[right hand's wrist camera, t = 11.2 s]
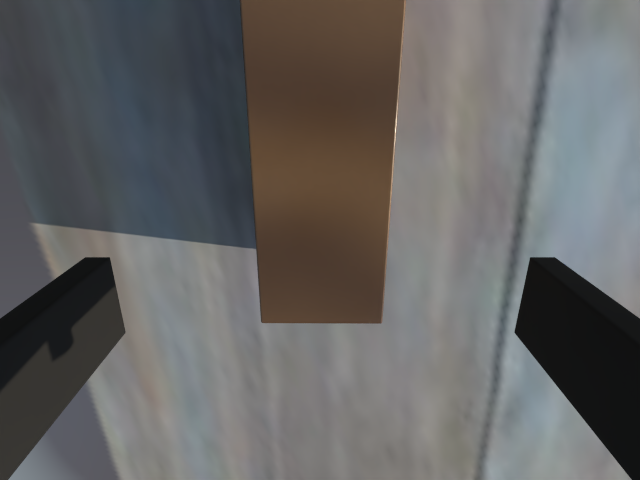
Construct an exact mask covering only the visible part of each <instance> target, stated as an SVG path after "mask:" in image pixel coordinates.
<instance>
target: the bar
mask: <svg viewBox="0 0 640 480" xmlns="http://www.w3.org/2000/svg"><path fill="white" fill-rule="evenodd" d="M405 5H406V0H240V10H241V25H242V40H243V55H244V70H245V86H246V101H247V116H248V131H249V146H250V161H251V176H252V191H253V206H254V221H255V236H256V251H257V266H258V281H259V296H260V311H261V322H262V323H382V317H383V304H384V290H385V277H386V263H387V249H388V236H389V222H390V209H391V195H392V181H393V168H394V154H395V141H396V127H397V113H398V100H399V86H400V73H401V59H402V46H403V32H404V18H405Z"/></svg>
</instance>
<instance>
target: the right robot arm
mask: <svg viewBox="0 0 640 480" xmlns="http://www.w3.org/2000/svg"><path fill="white" fill-rule="evenodd" d="M124 334H125V328H124V323H123V318H122V313H121V309H120V304H119V299H118V294H117V290H116V285H115V280H114V275H113V271H112V266H111V261H110V257H85V258H84V259H82V260H81V261H80V262H78V263H77V264H75V265H74V266H73V267H71V268H70V269H69V270H67V271H66V272H64V273H63V274H62V275H60V276H59V277H57V278H56V279H55V280H53V281H52V282H51V283H49V284H48V285H46V286H45V287H44V288H42V289H41V290H39V291H38V292H37V293H35V294H34V295H33V296H31V297H30V298H28V299H27V300H25V301H24V302H23V303H21V304H20V305H19V306H17V307H16V308H14V309H13V310H12V311H10V312H9V313H7V314H6V315H5V316H3V317H2V318H1V319H0V480H8V479H9V478H10V477H11V475H12V474H13V473H14V472H15V470H16V469H17V468H18V467H19V465H20V464H21V463H22V462H23V460H24V459H25V458H26V457H27V455H28V454H29V453H30V451H31V450H32V449H33V448H34V447H35V445H36V444H37V443H38V441H39V440H40V439H41V438H42V437H43V435H44V434H45V433H46V431H47V430H48V429H49V428H50V426H51V425H52V424H53V423H54V421H55V420H56V419H57V418H58V416H59V415H60V414H61V413H62V411H63V410H64V409H65V408H66V406H67V405H68V404H69V403H70V401H71V400H72V399H73V398H74V396H75V395H76V394H77V393H78V391H79V390H80V389H81V388H82V386H83V385H84V384H85V383H86V381H87V380H88V379H89V378H90V376H91V375H92V374H93V373H94V371H95V370H96V369H97V368H98V366H99V365H100V364H101V363H102V361H103V360H104V359H105V357H106V356H107V355H108V354H109V352H110V351H111V350H112V349H113V347H114V346H115V345H116V344H117V342H118V341H119V340H120V339H121V337H122V336H123V335H124ZM515 334H516V335H517V336H518V337H519V339H520V340H521V341H522V342H523V344H524V345H525V346H526V347H527V349H528V350H529V351H530V352H531V354H532V355H533V356H534V357H535V359H536V360H537V361H538V363H539V364H540V365H541V366H542V368H543V369H544V370H545V371H546V373H547V374H548V375H549V376H550V378H551V379H552V380H553V381H554V383H555V384H556V385H557V386H558V388H559V389H560V390H561V391H562V393H563V394H564V395H565V396H566V398H567V399H568V400H569V401H570V403H571V404H572V405H573V406H574V408H575V409H576V410H577V411H578V413H579V414H580V415H581V416H582V418H583V419H584V420H585V421H586V423H587V424H588V425H589V426H590V428H591V429H592V430H593V431H594V433H595V434H596V435H597V437H598V438H599V439H600V440H601V442H602V443H603V444H604V445H605V447H606V448H607V449H608V450H609V452H610V453H611V454H612V455H613V457H614V458H615V459H616V460H617V462H618V463H619V464H620V465H621V467H622V468H623V469H624V470H625V472H626V473H627V474H628V475H629V477H630V478H631V479H632V480H640V318H638V317H637V316H635V315H634V314H633V313H631V312H630V311H628V310H627V309H626V308H624V307H623V306H621V305H620V304H619V303H617V302H616V301H615V300H613V299H612V298H610V297H609V296H608V295H606V294H605V293H603V292H602V291H601V290H599V289H598V288H596V287H595V286H594V285H592V284H591V283H590V282H588V281H587V280H585V279H584V278H583V277H581V276H580V275H578V274H577V273H576V272H574V271H573V270H571V269H570V268H569V267H567V266H566V265H565V264H563V263H562V262H560V261H559V260H558V259H556V258H555V257H530V261H529V266H528V271H527V275H526V280H525V285H524V290H523V294H522V299H521V304H520V309H519V313H518V318H517V323H516V328H515Z"/></svg>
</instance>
